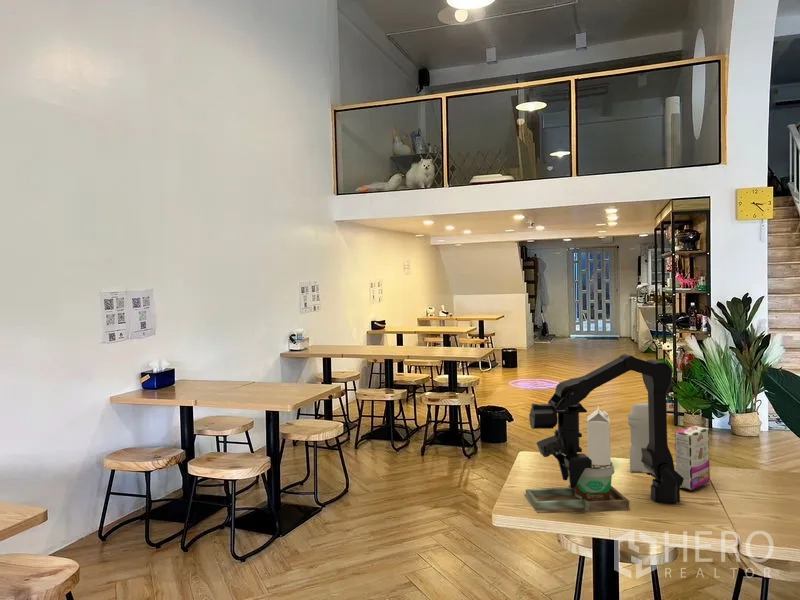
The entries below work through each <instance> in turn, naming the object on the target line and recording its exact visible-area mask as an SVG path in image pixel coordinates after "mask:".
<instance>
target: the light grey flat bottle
mask: <svg viewBox="0 0 800 600" xmlns="http://www.w3.org/2000/svg"><path fill="white" fill-rule="evenodd" d="M631 407H632V408H631V411H630V413H628V415H627V416H628V417H627V421H628V426H629V427H630V428H629V431H630V443H631V444H630V448H629V471H630V472H632V473H633V472H634V473H645V474H646V473H648V474H649V473H650V472H649V471H648V470H647V469H646V468H645V467H644V463H643V462H641V460H642V451H641V448H647V446H648V444H649V416H648V402H641V403H640V402H639V403H634V404H632V406H631Z"/></svg>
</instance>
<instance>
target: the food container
mask: <svg viewBox="0 0 800 600" xmlns="http://www.w3.org/2000/svg"><path fill="white" fill-rule="evenodd" d="M615 473H616V472H615V468H614V465H613V462H612V461H611V462H610V465H592V468H585V470H584V471H583V473H582V475H581V477H580V479H579V481H578V483H577V484H576V486H575V488H574V490H575V498H576V499H586V500H587V501H604V500H610V490H611V486H612V479H613V478H612V477H613V475H614V474H615Z"/></svg>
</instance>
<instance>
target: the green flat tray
mask: <svg viewBox="0 0 800 600" xmlns="http://www.w3.org/2000/svg"><path fill="white" fill-rule="evenodd" d="M524 496H525V498H526V500H528V502H529V504H530V505H531V506H532V507H533V509H534V511H536V513H537V514H557V513H558V514H561V513H562V514H563V513H568V514H569V513H595V512H598V513H599V512H613V511H614V512H615V511H617V512H618V511H630V500H629V499H628V498H627V497H626V496H624V495H623V494H622V493H621V492H620V491H618V490H617V489H616V488H615V487H614V486H613V485H611V490H610V500H604V501H587V500H586V499H576V498H575V490H574V488H571V487H570V484H569V485H568V486H567V487H552V488H550V487H548V488H529V489H528V488H526V489H525V493H524Z"/></svg>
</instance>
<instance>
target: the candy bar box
mask: <svg viewBox="0 0 800 600" xmlns="http://www.w3.org/2000/svg"><path fill="white" fill-rule="evenodd" d="M709 432H710V430H709V427H703V426H698V425H692V426H689V427H686V428H684V429H681V430H678V431H675V432H674V441H675V442H674V444H675V446H674V447H675V449H674V450H675V471H676V472H677V473H678V474H680V475H681V476H682V477H683V478H684V480H683V483H682V486H680V489H681V488H682V489H685V490H686V489H687V490H689V491H693V490H696V489H697V488H700V487H701V486H704V485H705V484H708V483H709V482H711V480H710V479H711V474H710V471H711V470H710V436H709V435H710V433H709Z"/></svg>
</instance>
